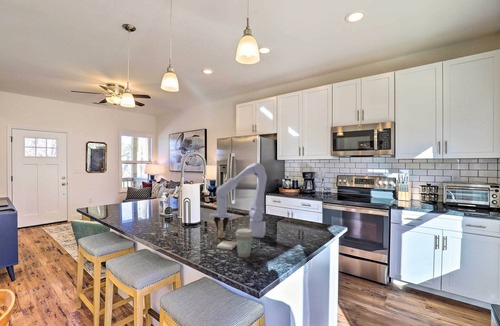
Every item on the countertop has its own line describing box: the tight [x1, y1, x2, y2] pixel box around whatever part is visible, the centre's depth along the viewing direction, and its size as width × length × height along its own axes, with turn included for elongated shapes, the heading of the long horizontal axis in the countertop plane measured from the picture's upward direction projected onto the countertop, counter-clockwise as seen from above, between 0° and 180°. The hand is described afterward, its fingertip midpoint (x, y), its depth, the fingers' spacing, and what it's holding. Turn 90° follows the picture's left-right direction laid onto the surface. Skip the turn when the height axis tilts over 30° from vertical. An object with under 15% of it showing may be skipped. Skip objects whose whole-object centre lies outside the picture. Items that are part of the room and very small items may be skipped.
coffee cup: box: [234, 227, 253, 258], centre depth 117 cm, size 9×8×12 cm
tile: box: [216, 240, 237, 250], centre depth 129 cm, size 8×2×8 cm
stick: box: [217, 219, 226, 239], centre depth 142 cm, size 3×3×10 cm
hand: (221, 230), depth 142 cm, fingers closed on stick, 3 cm apart
